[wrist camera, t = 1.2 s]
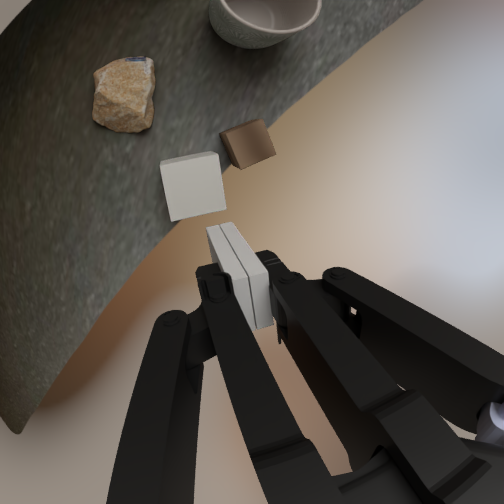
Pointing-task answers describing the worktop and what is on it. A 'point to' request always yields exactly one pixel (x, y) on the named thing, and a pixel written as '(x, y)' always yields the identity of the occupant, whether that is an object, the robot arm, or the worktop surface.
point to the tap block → (193, 185)
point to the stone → (125, 94)
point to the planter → (261, 20)
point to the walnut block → (248, 143)
